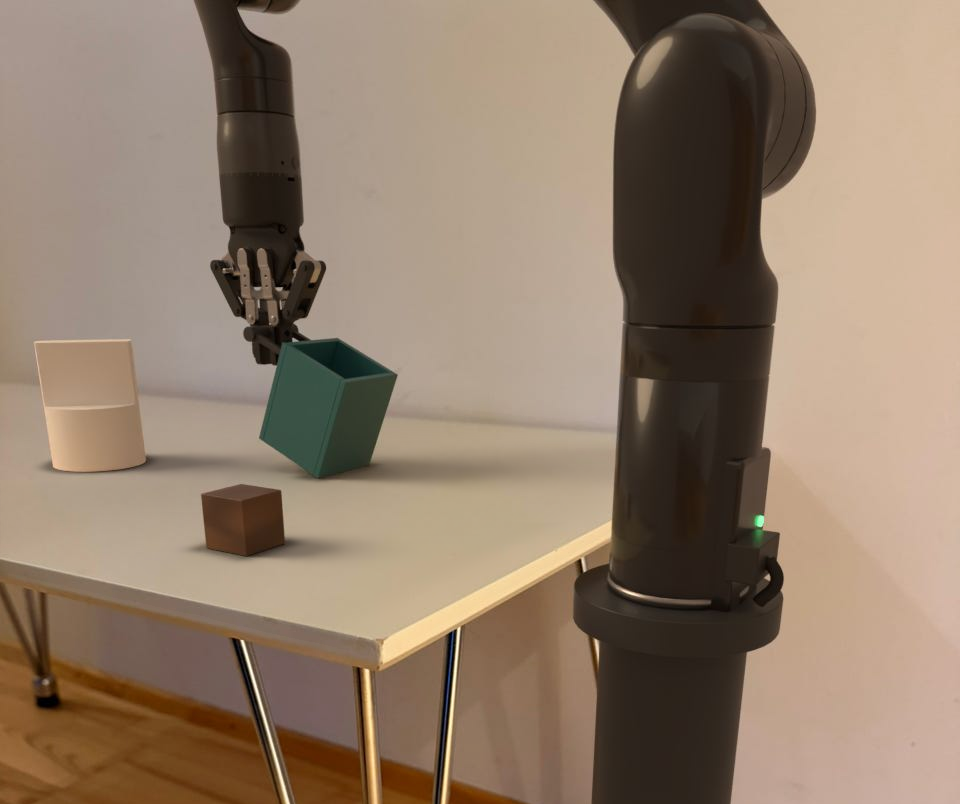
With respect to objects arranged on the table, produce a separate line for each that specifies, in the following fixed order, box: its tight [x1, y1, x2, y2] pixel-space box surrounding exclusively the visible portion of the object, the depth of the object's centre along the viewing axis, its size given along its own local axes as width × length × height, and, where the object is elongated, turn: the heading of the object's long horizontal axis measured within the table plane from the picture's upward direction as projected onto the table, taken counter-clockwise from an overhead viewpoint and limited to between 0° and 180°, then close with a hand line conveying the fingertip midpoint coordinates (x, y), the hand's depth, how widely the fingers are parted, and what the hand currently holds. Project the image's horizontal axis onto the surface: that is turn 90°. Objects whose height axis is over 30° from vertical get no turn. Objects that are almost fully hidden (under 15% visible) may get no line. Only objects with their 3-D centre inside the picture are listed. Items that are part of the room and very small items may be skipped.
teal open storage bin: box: [242, 323, 399, 479], centre depth 96 cm, size 10×8×14 cm
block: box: [200, 483, 286, 557], centre depth 71 cm, size 4×4×4 cm
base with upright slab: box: [33, 338, 147, 473], centre depth 99 cm, size 9×9×12 cm
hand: (273, 363), depth 98 cm, fingers closed
